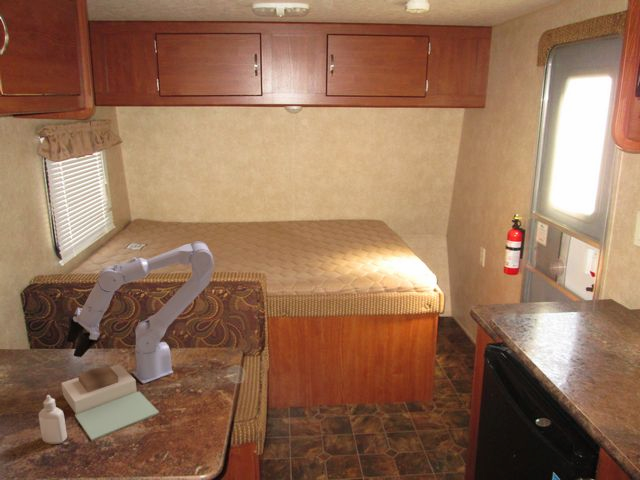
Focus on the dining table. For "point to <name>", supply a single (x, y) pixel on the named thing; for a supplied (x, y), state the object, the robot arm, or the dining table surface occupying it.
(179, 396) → the dining table surface
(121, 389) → the cream flat block
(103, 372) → the walnut tile
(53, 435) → the eye dropper bottle
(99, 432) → the mat
